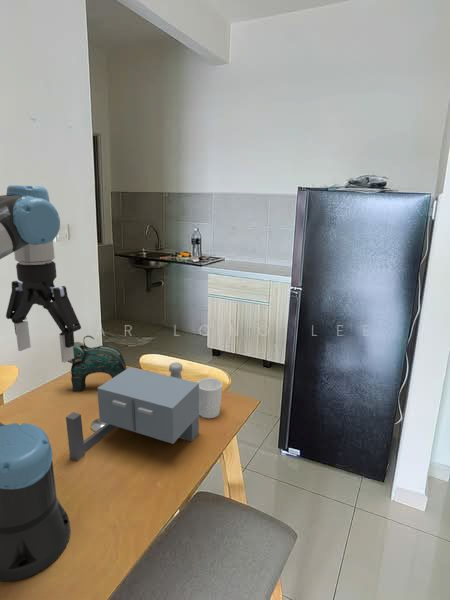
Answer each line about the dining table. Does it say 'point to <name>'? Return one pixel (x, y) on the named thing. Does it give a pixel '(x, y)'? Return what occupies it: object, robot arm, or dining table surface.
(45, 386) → the dining table surface
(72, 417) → the l-shaped tool
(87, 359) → the ceramic cat
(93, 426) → the steel token
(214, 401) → the white cup
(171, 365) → the salt shaker
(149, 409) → the cabinet
